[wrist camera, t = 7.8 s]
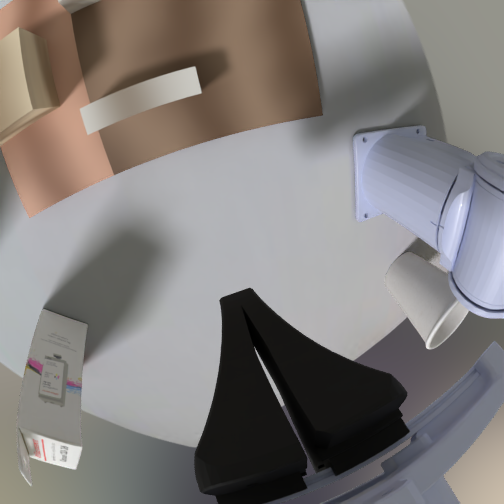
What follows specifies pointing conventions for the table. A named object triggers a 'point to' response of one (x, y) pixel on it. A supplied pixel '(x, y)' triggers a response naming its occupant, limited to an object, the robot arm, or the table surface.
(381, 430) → the robot arm
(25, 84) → the maple block
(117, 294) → the table surface
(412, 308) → the dixie cup
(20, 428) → the ink cartridge box
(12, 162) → the board
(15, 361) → the table surface
